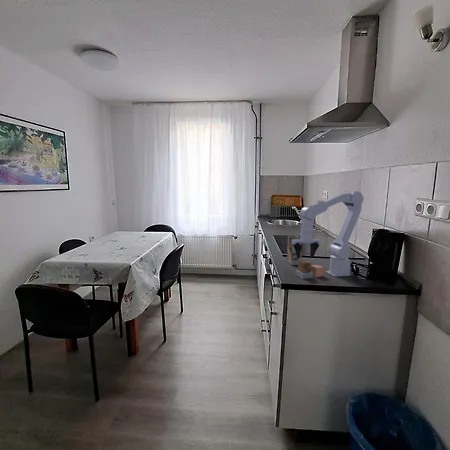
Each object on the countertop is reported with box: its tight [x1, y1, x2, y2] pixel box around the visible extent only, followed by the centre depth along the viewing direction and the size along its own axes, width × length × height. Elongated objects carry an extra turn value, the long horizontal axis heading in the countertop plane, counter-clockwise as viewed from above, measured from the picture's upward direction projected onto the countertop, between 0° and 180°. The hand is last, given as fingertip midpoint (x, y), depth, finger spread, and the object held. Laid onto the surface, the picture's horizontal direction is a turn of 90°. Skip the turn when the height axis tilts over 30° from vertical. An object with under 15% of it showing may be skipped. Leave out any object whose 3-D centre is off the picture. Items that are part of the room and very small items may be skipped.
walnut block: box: [297, 259, 312, 273], centre depth 137 cm, size 4×4×5 cm
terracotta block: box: [311, 264, 324, 278], centre depth 139 cm, size 4×4×5 cm
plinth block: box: [295, 269, 314, 280], centre depth 137 cm, size 6×6×3 cm
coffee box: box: [286, 235, 303, 266], centre depth 160 cm, size 9×6×16 cm
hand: (305, 257), depth 136 cm, fingers open, 7 cm apart
